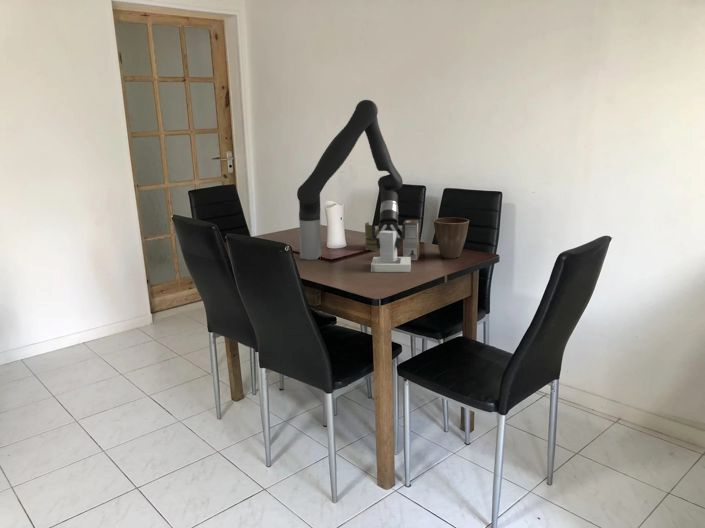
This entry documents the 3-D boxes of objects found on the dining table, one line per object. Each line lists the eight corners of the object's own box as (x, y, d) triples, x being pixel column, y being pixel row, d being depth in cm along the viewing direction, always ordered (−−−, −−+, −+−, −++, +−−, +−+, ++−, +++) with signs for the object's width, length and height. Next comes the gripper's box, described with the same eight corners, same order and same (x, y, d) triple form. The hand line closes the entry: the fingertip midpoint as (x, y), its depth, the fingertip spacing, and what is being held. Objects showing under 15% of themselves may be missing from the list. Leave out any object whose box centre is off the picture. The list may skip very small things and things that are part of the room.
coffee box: (405, 255, 248) (404, 219, 244) (419, 255, 246) (419, 219, 242) (402, 260, 239) (402, 223, 235) (417, 260, 238) (417, 223, 234)
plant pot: (434, 252, 251) (434, 217, 247) (468, 252, 248) (469, 217, 244) (432, 260, 237) (432, 223, 233) (468, 261, 234) (468, 223, 230)
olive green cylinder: (362, 222, 263) (385, 220, 265) (362, 247, 266) (385, 245, 268) (368, 226, 252) (392, 224, 255) (369, 252, 255) (392, 250, 258)
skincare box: (397, 259, 227) (396, 230, 224) (393, 262, 224) (393, 233, 221) (383, 258, 230) (382, 230, 227) (379, 261, 226) (378, 232, 223)
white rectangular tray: (371, 271, 222) (370, 264, 221) (373, 263, 234) (373, 256, 234) (410, 272, 220) (410, 264, 219) (410, 263, 232) (410, 256, 232)
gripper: (371, 209, 230) (369, 243, 221) (406, 208, 228) (405, 242, 220) (372, 219, 236) (370, 252, 228) (406, 218, 234) (406, 252, 226)
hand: (388, 247), depth 224 cm, fingers closed on skincare box, 7 cm apart
